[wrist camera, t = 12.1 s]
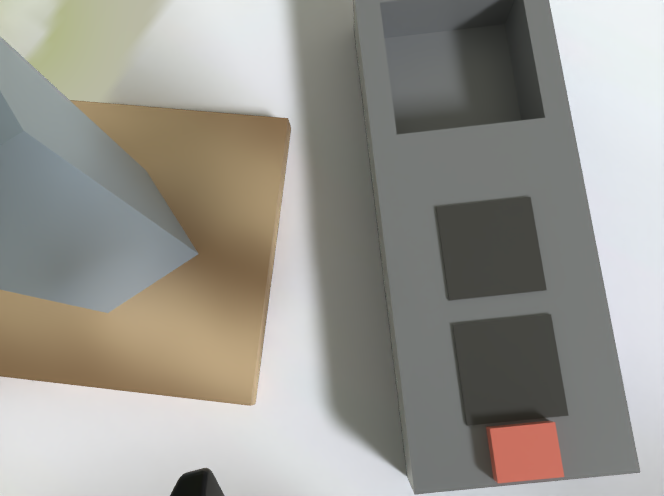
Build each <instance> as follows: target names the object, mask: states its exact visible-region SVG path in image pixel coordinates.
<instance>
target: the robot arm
mask: <svg viewBox="0 0 664 496" xmlns="http://www.w3.org/2000/svg"><path fill="white" fill-rule="evenodd" d="M170 496H224V494H223V492H222V490H221V488H220V486H219V484H218V482H217V480H216V478H215V477H214V475H213V473H212V471H211V470H210V469H208V468H203V469H199V470H195V471H191V472H187V473H185V474H183V475H182V476H181V477H180V478H179V480H178V481H177V483H176V485H175V487H174V489H173V491H172V493H171V495H170Z"/></svg>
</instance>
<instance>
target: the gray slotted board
mask: <svg viewBox="0 0 664 496" xmlns="http://www.w3.org/2000/svg"><path fill="white" fill-rule="evenodd" d="M353 12H354V34H355V42H356V51H357V59H358V67H359V76H360V84H361V93H362V101H363V109H364V118H365V126H366V134H367V143H368V151H369V160H370V168H371V176H372V185H373V193H374V202H375V210H376V218H377V227H378V235H379V243H380V252H381V260H382V269H383V277H384V285H385V294H386V302H387V311H388V319H389V327H390V336H391V344H392V352H393V361H394V369H395V378H396V386H397V394H398V403H399V411H400V419H401V428H402V436H403V445H404V453H405V461H406V470H407V478H408V480H409V482H410V485H411V487H412V489H413V492H414V494H423V493H434V492H444V491H454V490H465V489H475V488H485V487H496V486H506V485H516V484H527V483H537V482H547V481H558V480H568V479H578V478H589V477H599V476H609V475H620V474H630V473H640V468H639V463H638V458H637V453H636V448H635V443H634V437H633V432H632V427H631V422H630V417H629V412H628V406H627V401H626V396H625V391H624V386H623V381H622V375H621V370H620V365H619V360H618V355H617V350H616V344H615V339H614V334H613V329H612V324H611V319H610V313H609V308H608V303H607V298H606V293H605V288H604V282H603V277H602V272H601V267H600V262H599V257H598V251H597V246H596V241H595V236H594V231H593V226H592V220H591V215H590V210H589V205H588V200H587V195H586V189H585V184H584V179H583V174H582V169H581V164H580V158H579V153H578V148H577V143H576V138H575V133H574V127H573V122H572V117H571V112H570V107H569V102H568V97H567V91H566V86H565V81H564V76H563V71H562V66H561V60H560V55H559V50H558V45H557V40H556V35H555V29H554V24H553V19H552V14H551V9H550V4H549V0H353Z"/></svg>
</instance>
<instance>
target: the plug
mask: <svg viewBox="0 0 664 496" xmlns="http://www.w3.org/2000/svg"><path fill="white" fill-rule="evenodd" d="M196 255H198V252H197V251H196V249H195V247H194V246H193V244H192V243H191V241H190V239H189V238H188V236H187V235H186V233H185V231H184V230H183V228H182V227H181V225H180V224H179V222H178V220H177V219H176V217H175V216H174V214H173V212H172V211H171V209H170V208H169V206H168V204H167V203H166V201H165V200H164V198H163V197H162V195H161V193H160V192H159V190H158V189H157V187H156V185H155V184H154V182H153V181H152V179H151V177H150V176H149V174H148V173H147V171H146V170H145V169H144V168H143V167H142V166H141V165H140V164H138V163H137V162H136V161H135V160H134V159H133V158H132V157H131V156H130V155H129V154H128V153H126V152H125V151H124V150H123V149H122V148H121V147H120V146H119V145H118V144H117V143H116V142H115V141H113V140H112V139H111V138H110V137H109V136H108V135H107V134H106V133H105V132H104V131H103V130H101V129H100V128H99V127H98V126H97V125H96V124H95V123H94V122H93V121H92V120H91V119H89V118H88V117H87V116H86V115H85V114H84V113H83V112H82V111H81V110H80V109H79V108H78V107H76V106H75V105H74V104H73V103H72V102H71V101H70V100H69V99H68V98H67V97H65V96H64V95H63V94H62V93H61V92H60V91H59V90H58V89H57V88H56V87H55V86H54V85H52V84H51V83H50V82H49V81H48V80H47V79H46V78H45V77H44V76H43V75H42V74H41V73H39V72H38V71H37V70H36V69H35V68H34V67H33V66H32V65H31V64H30V63H29V62H28V61H26V60H25V59H24V58H23V57H22V56H21V55H20V54H19V53H18V52H17V51H16V50H14V49H13V48H12V47H11V46H10V45H9V44H8V43H7V42H6V41H5V40H4V39H3V38H1V37H0V290H4V291H9V292H14V293H18V294H23V295H27V296H32V297H36V298H41V299H46V300H50V301H55V302H59V303H64V304H68V305H73V306H78V307H82V308H87V309H91V310H96V311H100V312H105V313H109V312H110V311H112V310H113V309H115V308H116V307H118V306H120V305H121V304H123V303H124V302H126V301H127V300H129V299H130V298H132V297H133V296H135V295H136V294H138V293H139V292H141V291H143V290H144V289H146V288H147V287H149V286H150V285H152V284H153V283H155V282H156V281H158V280H159V279H161V278H162V277H164V276H166V275H167V274H169V273H170V272H172V271H173V270H175V269H176V268H178V267H179V266H181V265H182V264H184V263H185V262H187V261H189V260H190V259H192V258H193V257H195V256H196Z"/></svg>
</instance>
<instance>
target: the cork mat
mask: <svg viewBox="0 0 664 496" xmlns="http://www.w3.org/2000/svg"><path fill="white" fill-rule="evenodd" d="M70 101H71V102H72V103H73V104H74V105H75V106H76V107H78V108H79V109H80V110H81V111H82V112H83V113H84V114H85V115H86V116H87V117H88V118H89V119H91V120H92V121H93V122H94V123H95V124H96V125H97V126H98V127H99V128H100V129H101V130H103V131H104V132H105V133H106V134H107V135H108V136H109V137H110V138H111V139H112V140H113V141H115V142H116V143H117V144H118V145H119V146H120V147H121V148H122V149H123V150H124V151H125V152H126V153H128V154H129V155H130V156H131V157H132V158H133V159H134V160H135V161H136V162H137V163H138V164H140V165H141V166H142V167H143V168H144V169H145V170H146V171H147V173H148V174H149V176H150V177H151V179H152V181H153V182H154V184H155V185H156V187H157V189H158V190H159V192H160V193H161V195H162V197H163V198H164V200H165V201H166V203H167V204H168V206H169V208H170V209H171V211H172V212H173V214H174V216H175V217H176V219H177V220H178V222H179V224H180V225H181V227H182V228H183V230H184V231H185V233H186V235H187V236H188V238H189V239H190V241H191V243H192V244H193V246H194V247H195V249H196V251H197V252H198V255H196V256H195V257H193V258H192V259H190V260H189V261H187V262H185V263H184V264H182V265H181V266H179V267H178V268H176V269H175V270H173V271H172V272H170V273H169V274H167V275H166V276H164V277H162V278H161V279H159V280H158V281H156V282H155V283H153V284H152V285H150V286H149V287H147V288H146V289H144V290H143V291H141V292H139V293H138V294H136V295H135V296H133V297H132V298H130V299H129V300H127V301H126V302H124V303H123V304H121V305H120V306H118V307H116V308H115V309H113V310H112V311H110V312H109V313H105V312H100V311H96V310H91V309H87V308H82V307H78V306H73V305H68V304H64V303H59V302H55V301H50V300H46V299H41V298H36V297H32V296H27V295H23V294H18V293H14V292H9V291H4V290H0V376H2V377H11V378H19V379H28V380H36V381H45V382H53V383H62V384H70V385H79V386H87V387H96V388H105V389H113V390H122V391H130V392H139V393H147V394H156V395H164V396H173V397H181V398H190V399H199V400H207V401H216V402H224V403H233V404H241V405H250V406H251V405H254V404H255V402H256V395H257V387H258V379H259V371H260V364H261V356H262V348H263V341H264V333H265V325H266V318H267V310H268V302H269V294H270V287H271V279H272V271H273V264H274V256H275V248H276V240H277V233H278V225H279V217H280V210H281V202H282V194H283V186H284V179H285V171H286V163H287V156H288V148H289V140H290V133H291V127H290V123H289V120H288V118H277V117H265V116H253V115H242V114H230V113H218V112H206V111H194V110H182V109H170V108H158V107H146V106H134V105H122V104H110V103H98V102H85V101H73V100H70Z"/></svg>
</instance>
